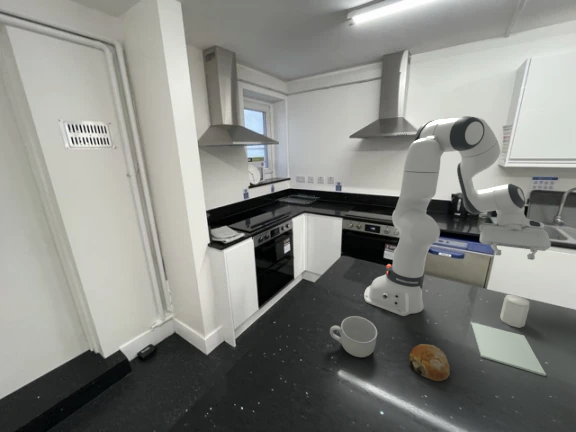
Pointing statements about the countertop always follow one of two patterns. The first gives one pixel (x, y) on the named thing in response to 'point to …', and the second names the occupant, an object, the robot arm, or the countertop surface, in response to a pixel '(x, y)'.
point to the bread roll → (429, 362)
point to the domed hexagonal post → (514, 310)
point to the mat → (506, 348)
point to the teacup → (356, 336)
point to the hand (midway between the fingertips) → (514, 256)
